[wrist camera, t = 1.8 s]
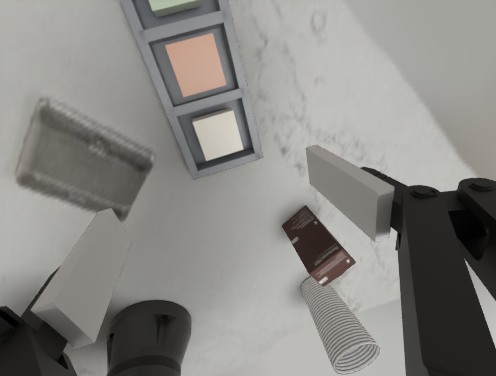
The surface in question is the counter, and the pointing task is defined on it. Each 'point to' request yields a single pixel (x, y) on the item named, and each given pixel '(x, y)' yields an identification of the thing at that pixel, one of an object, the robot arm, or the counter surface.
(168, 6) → the key sage
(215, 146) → the key ivory
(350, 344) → the cup
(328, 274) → the box
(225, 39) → the gray divided tray
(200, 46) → the key terracotta
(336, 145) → the counter surface
